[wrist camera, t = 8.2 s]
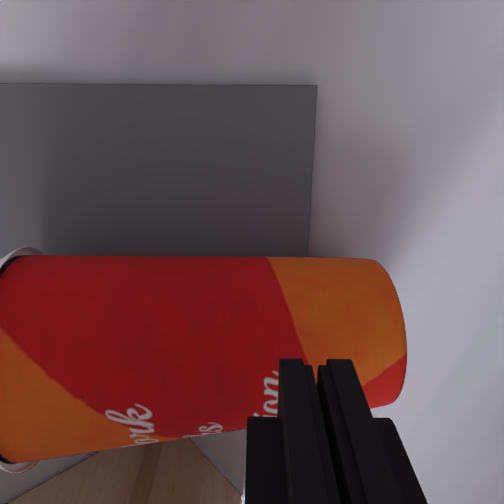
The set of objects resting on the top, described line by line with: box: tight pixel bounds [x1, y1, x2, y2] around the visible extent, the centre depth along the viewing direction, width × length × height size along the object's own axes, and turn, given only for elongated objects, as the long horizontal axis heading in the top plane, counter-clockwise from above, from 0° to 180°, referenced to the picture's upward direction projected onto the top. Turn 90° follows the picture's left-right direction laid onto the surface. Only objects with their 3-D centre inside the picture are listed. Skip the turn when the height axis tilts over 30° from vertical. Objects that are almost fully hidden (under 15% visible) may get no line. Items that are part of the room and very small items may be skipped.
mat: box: [0, 84, 317, 259], centre depth 19 cm, size 14×15×1 cm
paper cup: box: [0, 247, 407, 474], centre depth 16 cm, size 8×8×14 cm
